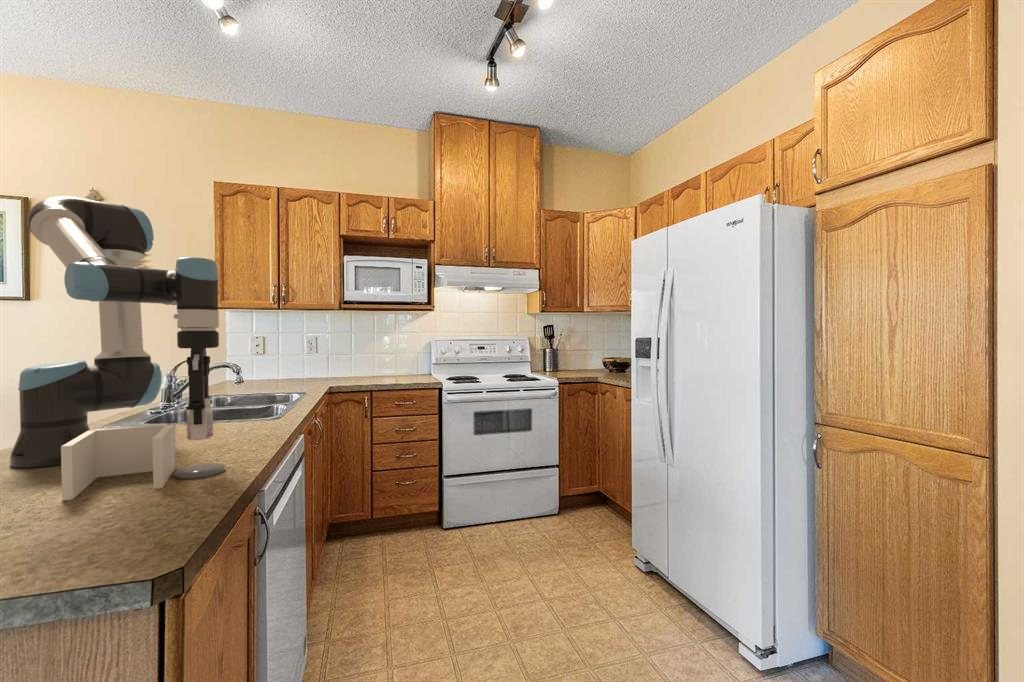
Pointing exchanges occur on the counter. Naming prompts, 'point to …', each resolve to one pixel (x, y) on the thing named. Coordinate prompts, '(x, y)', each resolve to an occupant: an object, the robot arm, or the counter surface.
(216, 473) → the coaster
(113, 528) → the counter surface
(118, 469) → the cubby
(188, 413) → the pill bottle
